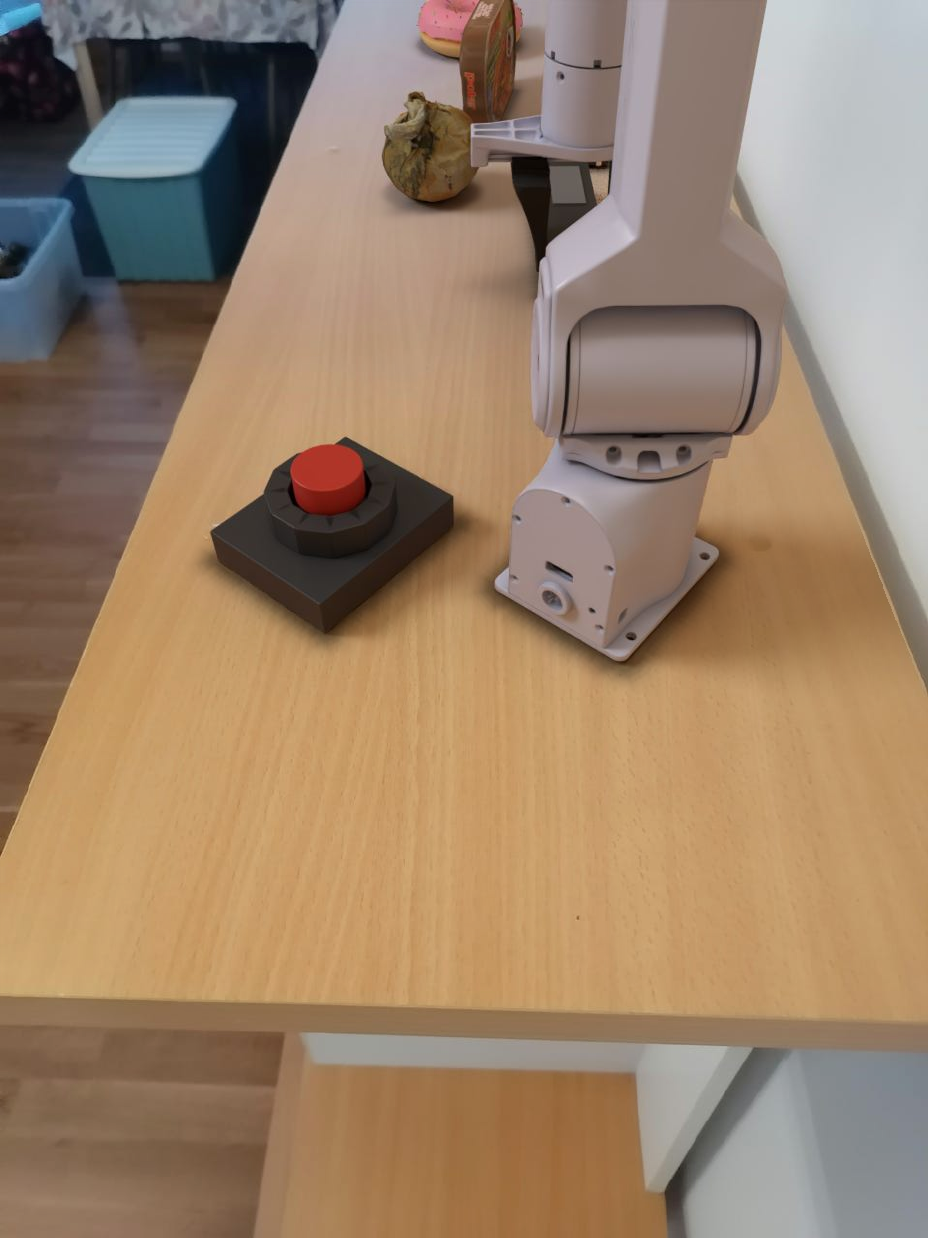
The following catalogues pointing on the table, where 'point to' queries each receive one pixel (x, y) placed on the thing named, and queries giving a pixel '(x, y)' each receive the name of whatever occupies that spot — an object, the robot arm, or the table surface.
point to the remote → (568, 195)
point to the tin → (488, 60)
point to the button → (328, 479)
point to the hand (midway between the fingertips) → (573, 264)
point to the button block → (333, 539)
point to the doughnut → (450, 24)
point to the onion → (429, 150)
